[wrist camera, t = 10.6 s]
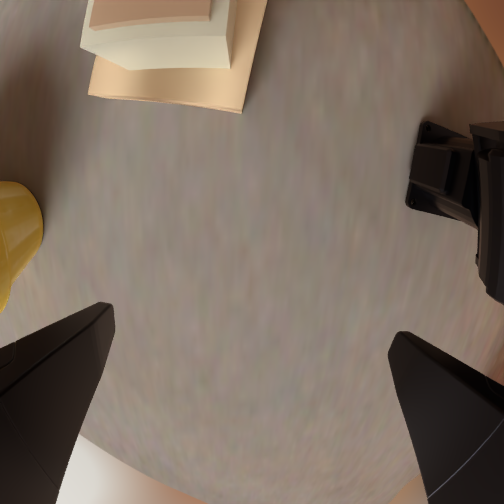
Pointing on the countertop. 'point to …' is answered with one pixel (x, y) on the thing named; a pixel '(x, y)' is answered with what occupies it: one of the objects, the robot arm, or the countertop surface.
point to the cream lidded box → (161, 33)
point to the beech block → (189, 73)
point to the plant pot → (17, 233)
